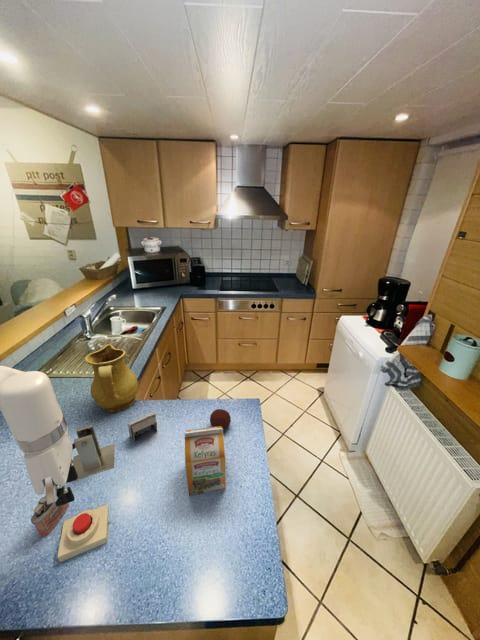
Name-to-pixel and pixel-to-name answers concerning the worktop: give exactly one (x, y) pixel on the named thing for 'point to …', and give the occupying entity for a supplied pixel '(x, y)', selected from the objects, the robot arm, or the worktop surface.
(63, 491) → the robot arm
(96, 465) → the bracket
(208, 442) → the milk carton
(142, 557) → the worktop surface
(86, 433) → the lever
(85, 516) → the button
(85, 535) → the control box
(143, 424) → the electrical switch
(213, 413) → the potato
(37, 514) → the lighter
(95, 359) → the pitcher
